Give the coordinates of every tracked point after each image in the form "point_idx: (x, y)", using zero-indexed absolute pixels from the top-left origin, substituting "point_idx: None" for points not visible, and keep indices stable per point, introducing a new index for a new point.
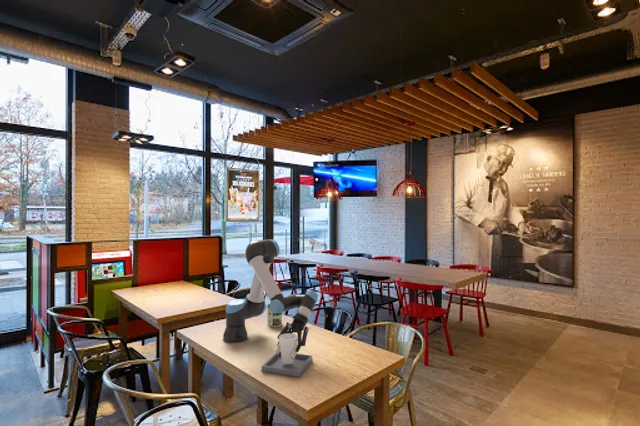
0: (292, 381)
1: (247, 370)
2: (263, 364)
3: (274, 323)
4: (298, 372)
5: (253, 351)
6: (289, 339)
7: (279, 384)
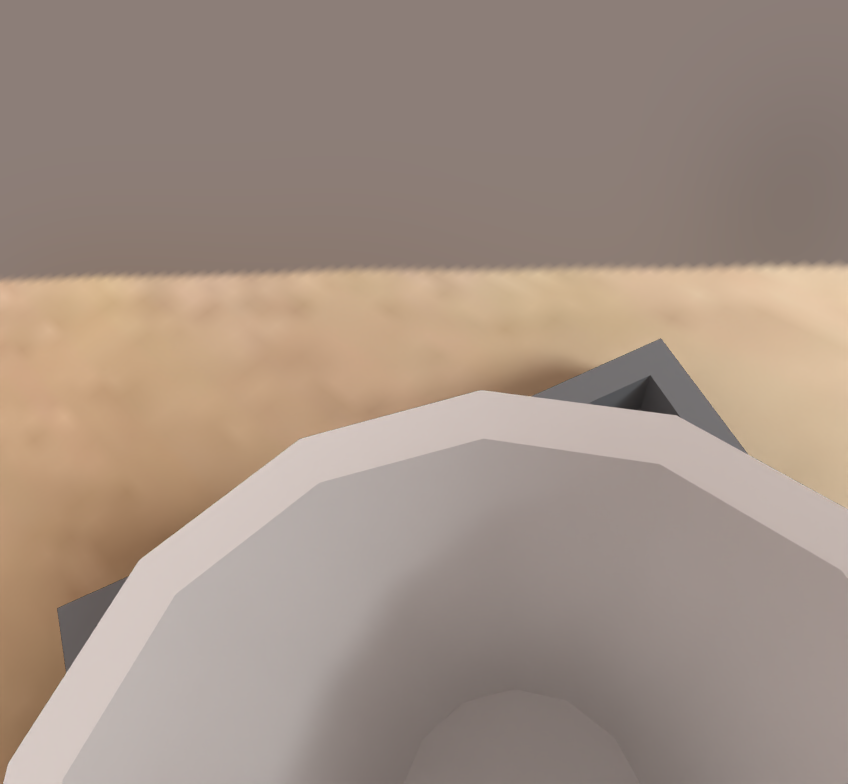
0: (136, 502)
1: (816, 287)
2: (692, 383)
3: None
4: (70, 606)
5: None
6: (159, 612)
7: (225, 355)
